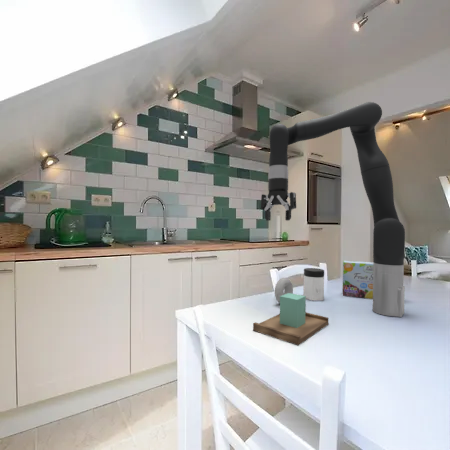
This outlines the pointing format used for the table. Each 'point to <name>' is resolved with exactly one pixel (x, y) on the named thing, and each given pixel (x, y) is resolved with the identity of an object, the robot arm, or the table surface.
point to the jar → (313, 284)
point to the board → (292, 328)
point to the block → (292, 310)
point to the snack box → (358, 279)
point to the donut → (283, 288)
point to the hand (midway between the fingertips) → (277, 220)
